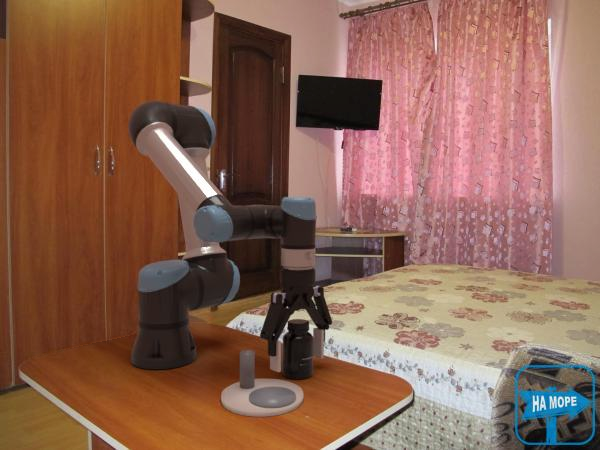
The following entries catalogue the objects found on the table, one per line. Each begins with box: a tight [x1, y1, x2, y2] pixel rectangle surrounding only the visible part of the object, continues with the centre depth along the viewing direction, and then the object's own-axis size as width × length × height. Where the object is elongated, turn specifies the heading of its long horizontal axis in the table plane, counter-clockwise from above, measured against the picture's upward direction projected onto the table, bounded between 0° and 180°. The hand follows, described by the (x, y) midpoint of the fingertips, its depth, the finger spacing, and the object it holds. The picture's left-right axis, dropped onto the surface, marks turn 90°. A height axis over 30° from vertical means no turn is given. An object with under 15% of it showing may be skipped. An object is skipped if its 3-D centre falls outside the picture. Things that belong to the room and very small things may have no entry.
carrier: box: [220, 349, 304, 418], centre depth 97 cm, size 16×16×8 cm
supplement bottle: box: [281, 318, 314, 380], centre depth 110 cm, size 7×7×12 cm
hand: (297, 363), depth 110 cm, fingers open, 12 cm apart
